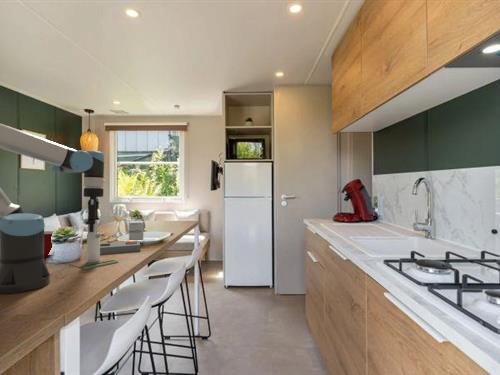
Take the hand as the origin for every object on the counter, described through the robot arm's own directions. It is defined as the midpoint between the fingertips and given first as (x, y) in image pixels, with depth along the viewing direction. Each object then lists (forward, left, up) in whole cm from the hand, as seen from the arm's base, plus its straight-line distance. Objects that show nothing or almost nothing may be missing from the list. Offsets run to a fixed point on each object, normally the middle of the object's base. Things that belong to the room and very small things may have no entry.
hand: (92, 237), depth 126 cm
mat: (0, 0, -11) cm, 11 cm away
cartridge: (0, 0, -11) cm, 11 cm away
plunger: (+23, +8, -10) cm, 27 cm away
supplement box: (+36, +24, -11) cm, 45 cm away
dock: (+17, +12, -11) cm, 24 cm away
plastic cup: (-8, +28, -11) cm, 31 cm away
